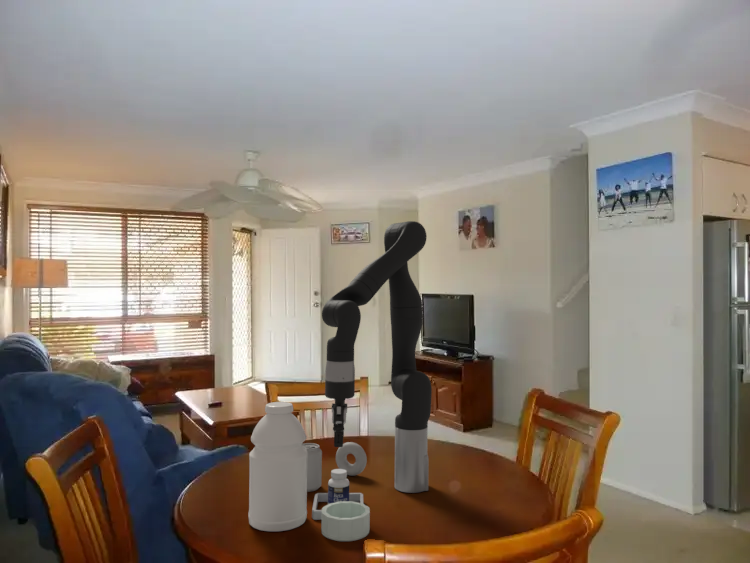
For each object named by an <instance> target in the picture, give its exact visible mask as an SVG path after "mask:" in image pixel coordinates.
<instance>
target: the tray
mask: <svg viewBox="0 0 750 563" xmlns="http://www.w3.org/2000/svg"><path fill="white" fill-rule="evenodd" d="M349 501H353V502H358V503H363V504H364V493H362V492H349ZM323 502H324V503H328V492H317V493H315V494H314V498H313V503H312V509H311V519H313V520H315V521H317V520H321V521H322V509H318V505H319V503H323Z"/></svg>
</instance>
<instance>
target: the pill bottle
mask: <svg viewBox="0 0 750 563" xmlns="http://www.w3.org/2000/svg"><path fill="white" fill-rule="evenodd" d="M330 477H331V478H330V479H329V480H328V483H327V493H328V502H327V505H328V504H330V503H335V502H340V501H349V493H350V481H349V479H348V478H347V477H348V475H347V471H346V470H344V469H339V468H334V469H331V471H330Z"/></svg>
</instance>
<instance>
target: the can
mask: <svg viewBox="0 0 750 563" xmlns="http://www.w3.org/2000/svg"><path fill="white" fill-rule="evenodd" d="M302 446H303V447H304V448H305V449H306V450H307V452H308V457H307V493H309V492H310V493H311V492H314V491H317V490H319V488H320V487H322V478H323V477H322V473H323V472H322V471H323V470H322V469H323V468H322V466H323V465H322V463H323V460H322V458H323V451H322V449H321V448H320V445H319V444H317V443H314V442H306V443H305V442H303V443H302Z"/></svg>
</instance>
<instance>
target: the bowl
mask: <svg viewBox="0 0 750 563" xmlns="http://www.w3.org/2000/svg"><path fill="white" fill-rule="evenodd" d="M321 510H322V520H321V526H320V527H321V528H320V530H321V534H322V536H323V537H325V538H327V539H328V540H331V541H337V542H353V541H354V542H355V541H358V540H361V539H364V538H365V537H368V535H369V534H370V528H371V526H370V522H371V521H370V520H371V519H370V518H371V517H370V516H371V512H370V511H371V509H370V507H369V506H368V505H366V504H365V503H364V502H363V503H360V502H353V501H340V502H335V503H330V504H328V503H327V504H326V505H324V506H323V507H322V508H321Z"/></svg>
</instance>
